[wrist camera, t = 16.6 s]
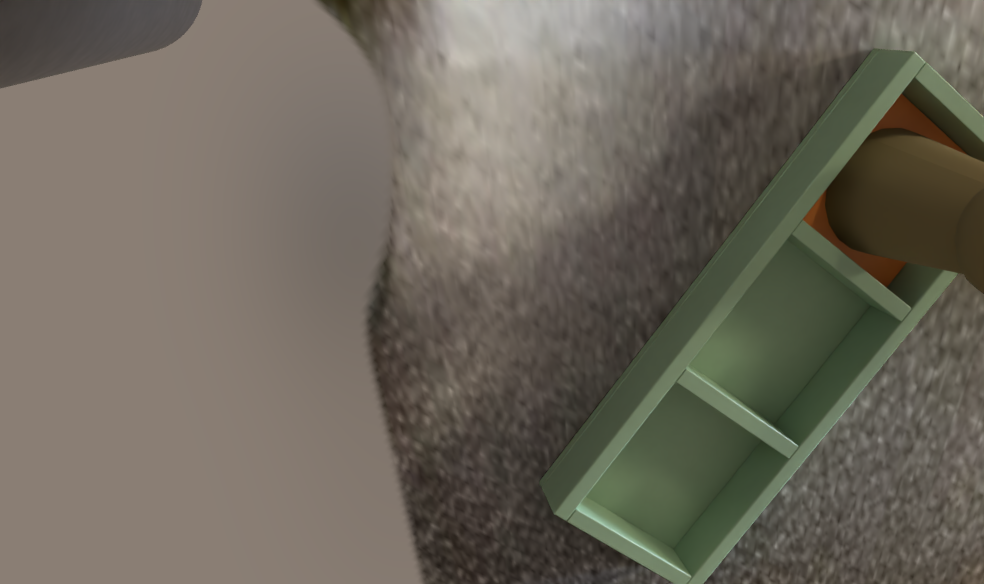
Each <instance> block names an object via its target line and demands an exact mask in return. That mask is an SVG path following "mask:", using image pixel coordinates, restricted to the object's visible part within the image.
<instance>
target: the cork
mask: <svg viewBox="0 0 984 584" xmlns="http://www.w3.org/2000/svg"><path fill="white" fill-rule="evenodd" d="M825 208H826V213H827V217H828V222H829V225H830V227H831V228H832V230H833V231H834V233H835V235H836V236H837V238H838V239H839V240H840V241H841V242H843V243H844V244H845V245H847V246H848V247H849V248H851V249H853V250H856V251H860V252H863V253H867V254H871V255H876V256H880V257H885V258H890V259H894V260H899V261H904V262H908V263H913V264H918V265H922V266H927V267H932V268H936V269H941V270H946V271H951V272H955V273H960V274H964V275H965V277H966V279H967V280H968V281H969V282H970V283H971V284H972V285H973V286H974V287H976V288H977V289H978V290H979V291H981V292H982V293H983V294H984V162H982V161H980V160H978V159H975V158H973V157H971V156H969V155H966V154H964V153H962V152H959V151H957V150H955V149H952V148H950V147H948V146H946V145H943V144H941V143H939V142H936V141H934V140H932V139H930V138H927V137H925V136H923V135H920V134H918V133H915V132H912V131H909V130H906V129H903V128H885V129H880V130H878V131H875V132H872V133H870V134H869V135H868V137H867V138H866V139H865V140H864V142H863V143H862V144H861V145H860V147H859V148H858V149H857V151H856V152H855V153H854V154H853V156H852V157H851V158H850V160H849V161H848V162H847V163H846V165H845V166H844V167H843V168H842V170H841V171H840V172H839V174H838V175H837V176H836V177H835V179H834V180H833V181H832V183H831V184H830V185H829V186H828V188H827V190H826V200H825Z"/></svg>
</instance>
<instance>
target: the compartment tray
mask: <svg viewBox="0 0 984 584" xmlns="http://www.w3.org/2000/svg"><path fill="white" fill-rule="evenodd" d="M885 128H903V129H906V130H909V131H912V132H915V133H918V134H920V135H923V136H925V137H927V138H930V139H932V140H934V141H936V142H939V143H941V144H943V145H946V146H948V147H950V148H952V149H955V150H957V151H959V152H962V153H964V154H966V155H969V156H971V157H973V158H975V159H978V160H980V161H982V162H984V117H983V116H982V115H981V114H980V113H979V112H978V111H977V110H976V109H975V108H974V107H973V106H971V105H970V104H969V103H968V102H967V101H966V100H965V99H964V98H963V97H962V96H961V95H960V94H959V93H958V92H957V91H956V90H955V89H954V88H953V87H952V86H951V85H950V84H948V83H947V82H946V81H945V80H944V79H943V78H942V77H941V76H940V75H939V74H938V73H937V72H936V71H935V70H934V69H933V68H932V67H931V66H930V65H929V64H928V63H925V61H924V60H923V59H922V58H921V57H920V56H919V55H918V54H917V53H916V52H914V51H900V50H885V49H881V50H880V49H873V50H872V51H871V53H870V54H869V55H868V57H867V58H866V59H865V60H864V62H863V63H862V64H861V66H860V67H859V68H858V70H857V71H856V72H855V73H854V75H853V76H852V77H851V79H850V80H849V81H848V82H847V84H846V85H845V86H844V88H843V89H842V90H841V92H840V93H839V94H838V95H837V97H836V98H835V99H834V101H833V102H832V103H831V104H830V106H829V107H828V108H827V110H826V111H825V112H824V114H823V115H822V116H821V117H820V119H819V120H818V121H817V123H816V124H815V125H814V127H813V128H812V129H811V130H810V132H809V133H808V134H807V136H806V137H805V138H804V139H803V141H802V142H801V143H800V145H799V146H798V147H797V149H796V150H795V151H794V152H793V154H792V155H791V156H790V158H789V159H788V160H787V161H786V163H785V164H784V165H783V167H782V168H781V169H780V171H779V172H778V173H777V174H776V176H775V177H774V178H773V180H772V181H771V182H770V184H769V185H768V186H767V187H766V189H765V190H764V191H763V193H762V194H761V195H760V196H759V198H758V199H757V200H756V202H755V203H754V204H753V206H752V207H751V208H750V209H749V211H748V212H747V213H746V215H745V216H744V217H743V218H742V220H741V221H740V222H739V224H738V225H737V226H736V228H735V229H734V230H733V231H732V233H731V234H730V235H729V237H728V238H727V239H726V241H725V242H724V243H723V244H722V246H721V247H720V248H719V250H718V251H717V252H716V253H715V255H714V256H713V257H712V259H711V260H710V261H709V263H708V264H707V265H706V266H705V268H704V269H703V270H702V272H701V273H700V274H699V275H698V277H697V278H696V279H695V281H694V282H693V283H692V285H691V286H690V287H689V288H688V290H687V291H686V292H685V294H684V295H683V296H682V298H681V299H680V300H679V301H678V303H677V304H676V305H675V307H674V308H673V309H672V310H671V312H670V313H669V314H668V316H667V317H666V318H665V320H664V321H663V322H662V323H661V325H660V326H659V327H658V329H657V330H656V331H655V332H654V334H653V335H652V336H651V338H650V339H649V340H648V342H647V343H646V344H645V345H644V347H643V348H642V349H641V351H640V352H639V353H638V355H637V356H636V357H635V358H634V360H633V361H632V362H631V364H630V365H629V366H628V367H627V369H626V370H625V371H624V373H623V374H622V375H621V377H620V378H619V379H618V380H617V382H616V383H615V384H614V386H613V387H612V388H611V390H610V391H609V392H608V393H607V395H606V396H605V397H604V399H603V400H602V401H601V402H600V404H599V405H598V406H597V408H596V409H595V410H594V412H593V413H592V414H591V415H590V417H589V418H588V419H587V421H586V422H585V423H584V424H583V426H582V427H581V428H580V430H579V431H578V432H577V434H576V435H575V436H574V437H573V439H572V440H571V441H570V443H569V444H568V445H567V447H566V448H565V449H564V450H563V452H562V453H561V454H560V456H559V457H558V458H557V459H556V461H555V462H554V463H553V465H552V466H551V467H550V469H549V470H548V471H547V472H546V474H545V475H544V476H543V478H542V479H541V480H540V481H539V484H540V486H541V487H542V490H543V492H544V494H545V496H546V499H547V501H548V503H549V505H550V507H551V509H552V511H553V513H554V515H556V516H558V517H560V518H561V519H563V520H565V521H567V522H568V523H570V524H571V525H573V526H575V527H577V528H578V529H580V530H582V531H584V532H585V533H587V534H589V535H590V536H592V537H594V538H596V539H597V540H599V541H601V542H603V543H604V544H606V545H608V546H609V547H611V548H613V549H615V550H616V551H618V552H620V553H622V554H623V555H625V556H627V557H628V558H630V559H632V560H634V561H635V562H637V563H639V564H641V565H642V566H644V567H646V568H647V569H649V570H651V571H653V572H654V573H656V574H658V575H659V576H661V577H663V578H665V579H666V580H668V581H670V582H672V583H673V584H703V583H704V582H705V581H706V580H707V578H708V577H709V576H710V575H711V574H712V572H713V571H714V570H715V569H716V567H717V566H718V565H719V564H720V563H721V561H722V560H723V559H724V558H725V556H726V555H727V554H728V553H729V552H730V550H731V549H732V548H733V547H734V546H735V544H736V543H737V542H738V541H739V539H740V538H741V537H742V536H743V535H744V533H745V532H746V531H747V530H748V528H749V527H750V526H751V525H752V524H753V522H754V521H755V520H756V519H757V518H758V516H759V515H760V514H761V513H762V511H763V510H764V509H765V508H766V507H767V505H768V504H769V503H770V502H771V501H772V499H773V498H774V497H775V496H776V494H777V493H778V492H779V491H780V490H781V488H782V487H783V486H784V485H785V483H786V482H787V481H788V480H789V479H790V477H791V476H792V475H793V474H794V473H795V471H796V470H797V469H798V468H799V466H800V465H801V464H802V463H803V462H804V460H805V459H806V458H807V457H808V456H809V454H810V453H811V452H812V451H813V449H814V448H815V447H816V446H817V445H818V443H819V442H820V441H821V440H822V438H823V437H824V436H825V435H826V434H827V432H828V431H829V430H830V429H831V428H832V426H833V425H834V424H835V423H836V421H837V420H838V419H839V418H840V417H841V415H842V414H843V413H844V412H845V410H846V409H847V408H848V407H849V406H850V404H851V403H852V402H853V401H854V400H855V398H856V397H857V396H858V395H859V393H860V392H861V391H862V390H863V389H864V387H865V386H866V385H867V384H868V383H869V381H870V380H871V379H872V378H873V376H874V375H875V374H876V373H877V372H878V370H879V369H880V368H881V367H882V365H883V364H884V363H885V362H886V361H887V359H888V358H889V357H890V356H891V355H892V353H893V352H894V351H895V350H896V348H897V347H898V346H899V345H900V344H901V342H902V341H903V340H904V339H905V338H906V336H907V335H908V334H909V333H910V331H911V330H912V329H913V328H914V327H915V325H916V324H917V323H918V322H919V320H920V319H921V318H922V317H923V316H924V314H925V313H926V312H927V311H928V310H929V308H930V307H931V306H932V305H933V303H934V302H935V301H936V300H937V299H938V297H939V296H940V295H941V294H942V293H943V291H944V290H945V289H946V288H947V286H948V285H949V284H950V283H951V282H952V280H953V279H954V278H955V277H956V275H957V274H958V273H955V272H951V271H946V270H941V269H936V268H932V267H927V266H922V265H918V264H913V263H908V262H904V261H899V260H894V259H890V258H885V257H880V256H876V255H871V254H867V253H863V252H860V251H856V250H853V249H851V248H849V247H848V246H847V245H845V244H844V243H843V242H841V241H840V240H839V239H838V238H837V236H836V235H835V233H834V231H833V230H832V228H831V227H830V225H829V222H828V217H827V213H826V208H825V200H826V190H827V188H828V186H829V185H830V184H831V183H832V181H833V180H834V179H835V177H836V176H837V175H838V174H839V172H840V171H841V170H842V168H843V167H844V166H845V165H846V163H847V162H848V161H849V160H850V158H851V157H852V156H853V154H854V153H855V152H856V151H857V149H858V148H859V147H860V145H861V144H862V143H863V142H864V140H865V139H866V138H867V137H868V135H869V134H870V133H872V132H875V131H878V130H880V129H885Z"/></svg>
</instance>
